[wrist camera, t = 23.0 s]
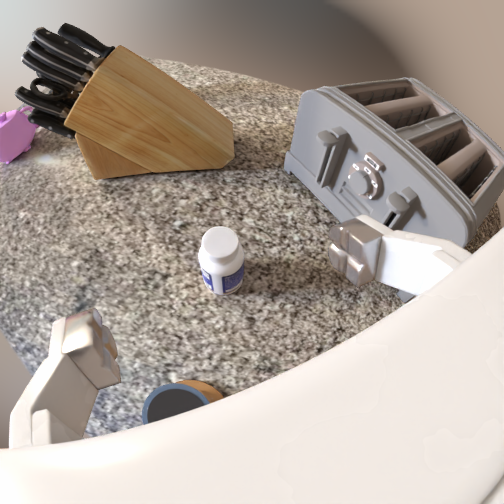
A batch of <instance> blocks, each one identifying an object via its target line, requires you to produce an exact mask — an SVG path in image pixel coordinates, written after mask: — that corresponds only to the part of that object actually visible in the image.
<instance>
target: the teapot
mask: <svg viewBox="0 0 504 504" xmlns="http://www.w3.org/2000/svg"><path fill="white" fill-rule="evenodd" d="M26 110H29V111H30V112H32V110H33V108H32V107H30V106H27V107H24V108H22V109H21V110H20V111H17V110H13V111H10V112H8V113H6V112H3V113H2V114H0V162H7V164H9V163H10V162H12V160H13V159H14V158H15V157H17V156H18V155H19V154H21V153H22V152H23V151H24V152H26V151H28V150H29V149H30V148H31V146H30V143H31V142H32V140H33V138H34V134H35V130H36V128H38V127H39V125H37V124H33V123H30V122H29V121H28V119H27V117H28V116H27V115H25V114H24V113H23V112H24V111H26Z"/></svg>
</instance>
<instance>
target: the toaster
mask: <svg viewBox="0 0 504 504" xmlns="http://www.w3.org/2000/svg"><path fill="white" fill-rule="evenodd" d="M283 168H284V170H285V171H286V172H287V173H288V174H289V175H290V174H294V175H295V176H296V177H297V178H298V179H299V180H300V181H301V182H302V183H303V184H304V185H305V186H306V187H307V188H308V189H309V190H310V191H311V192H312V193H313V194H314V195H315V196H316V197H317V198H318V199H319V200H320V201H321V202H322V203H323V204H324V205H325V206H326V207H327V208H328V210H329V211H330V212H331V213H332V214H333V215H334V216H335V217H336V218H337V219H338V220H339V221H340V222H344V221H347V220H350V219H352V218H354V217H357V216H359V215H362V214H364V215H368V216H369V217H371V218H373V219H375V220H376V221H378V222H380V223H382V224H383V225H385V226H387V227H388V228H390V229H392V230H394V231H395V230H400V231H406V232H411V233H416V234H422V235H427V236H432V237H437V238H442V239H446V240H451V241H453V242H454V243H456V244H457V245H459V246H461V247H462V248H464V247H465V246H466V245H467V244H468V243H469V242H470V241H471V240H472V239H473V238H474V236H475V234H476V232H477V229H478V228H479V226H480V225H481V224H482V222H483V221H484V219H485V218H486V216H487V215H488V213H489V212H490V210H491V209H492V207H493V205H494V204H495V202H496V201H497V199H498V197H499V196H500V194H501V193H502V191H503V189H504V151H503V150H502V149H501V148H500V147H499V146H498V145H497V144H496V143H495V142H494V141H493V140H492V139H491V138H490V137H489V136H488V135H487V134H486V133H484V132H483V131H482V130H481V129H480V128H479V127H477V125H476V124H475V123H473V122H472V121H471V120H470V119H469V118H468V117H467V116H465V115H464V114H463V113H462V112H461V111H459V110H458V109H457V108H456V107H454V106H453V105H452V104H451V103H449V102H448V101H446V100H445V99H444V98H443V97H441V96H440V95H438V94H437V93H436V92H434V91H433V90H432V89H430V88H429V87H427V86H426V85H424V84H423V83H422V82H420V81H419V80H417V79H414V78H405V77H404V78H400V79H394V80H382V81H371V82H362V83H355V84H347V85H340V86H333V87H328V86H323V87H321V88H318V89H311V90H308V91H305V92H304V93H303V94H302V95H301V98H300V102H299V107H298V113H297V118H296V123H295V128H294V133H293V138H292V144H291V149H290V150H288V151H287V152H286V156H285V162H284V167H283ZM398 290H399V291H398V292H397V293H396V294H397V295H398V296H399V297H400V299H401V300H402V301H403V302H404V303H406V302H408V301H409V300H411V299H412V298H413V297H414V296H416V295H413V294H411V293H408V292H405V291H402V290H400V289H398Z"/></svg>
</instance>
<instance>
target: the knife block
mask: <svg viewBox="0 0 504 504" xmlns="http://www.w3.org/2000/svg"><path fill="white" fill-rule="evenodd" d="M58 34H59V35H60V36H59V35H57V34H55V33H52V32H50V31H48V30H46V29H45V28H44V27H41V28H37V29H36V30H35V31H34V32H33V34H32V37H33V39H34V40H35V41H32V42H30V43H29V44H28V46H27V49H26V50H27V51H26V52H24V54H23V55H22V57H21V60H22V62H23V63H24V64H25V65H27V66H28V67H29V68H31V69H33V70H34V71H36V73H37V75H38V77H39V78H36V79H34V80H33V81H32V82H31V85H30V89H31V90H28V89H26V88H24V87H23V86H21V87H20V88H18V89H17V90H16V92H15V96H16V97H17V98H18V99H19V100H21V101H22V102H24V103H26V104H28V105H30V106H32V107H34V109H33V110H32V112H31V114H30V115H29V116H28V117H27V119H28V121H29V122H30V123H33V124H37V125H39V126H42V127H44V128H46V129H48V130H50V131H53V132H55V133H58V134H61V135H63V136H65V137H68V138H70V139H73V138H74V139H75V137H76V141H77V143H78V145H79V148H80V150H81V152H82V155H83V157H84V159H85V161H86V164H87V166H88V168H89V170H90V172H91V174H92V176H93V178H94V179H95V180H98V179H105V178H112V177H120V176H127V175H135V174H143V173H149V172H170V171H184V170H200V169H220V168H223V167H224V166H225V165H226V164H228V163H229V162H230V161H231V160H232V159H234V157H235V154H234V141H233V123H232V122H231V121H230V120H228V119H227V118H226V117H224V116H223V115H222V114H221V113H219V112H218V111H217V110H215V109H214V108H213V107H212V106H210V105H209V104H208V103H206V102H205V101H204V100H202V99H201V98H200V97H198V96H197V95H196V94H194V93H193V92H191V91H190V90H189V89H187V88H186V87H184V86H183V85H182V84H180V83H179V82H177V81H176V80H175V79H173V78H172V77H170V76H169V75H167V74H166V73H164V72H163V71H161V70H160V69H158V68H157V67H155V66H154V65H152V64H151V63H149V62H148V61H146V60H144V59H143V58H141V57H140V56H138V55H136V54H135V53H133V52H132V51H130V50H128V49H126V48H125V47H123V46H121V45H120V46H118V47H117V48H116V49H115V47H114V46H112V47H107V46H105V45H103V44H102V43H101V42H99V41H98V40H97V39H96V38H94V37H93V36H91V35H90V34H88V33H86V32H85V31H83V30H81V29H79V28H77V27H75V26H73V25H70V24H67V23H65V24H63V25H62V26H61V28H60V29H59V31H58ZM61 36H62V37H61ZM78 45H79V46H78ZM80 46H81V47H83V48H86V49H89V50H91V51H93V52H95V53H97V54H99V55H100V56H101V57H102V58H97V57H95V56H93V55H92V54H90V53H89V52H87V51H86V50H85V49H83V48H81V47H80ZM92 71H95V72H94V74H93V72H92ZM36 85H41V86H45V87H47V88H49V89H51V90H50V91H49V93H48V94H44V93H42V92H40V91H39V90H38V88H37V87H36ZM72 91H73V93H72V94H71V92H72ZM79 93H81V94H80V96H79Z"/></svg>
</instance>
